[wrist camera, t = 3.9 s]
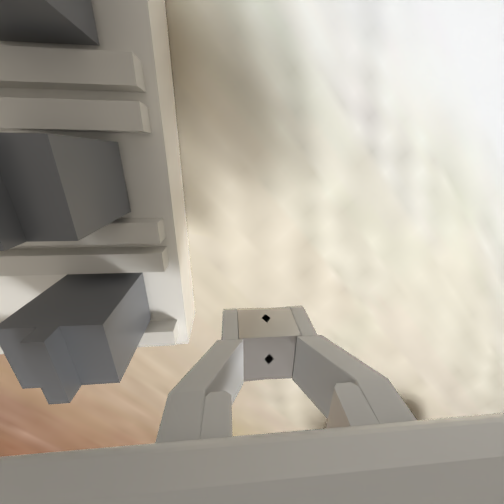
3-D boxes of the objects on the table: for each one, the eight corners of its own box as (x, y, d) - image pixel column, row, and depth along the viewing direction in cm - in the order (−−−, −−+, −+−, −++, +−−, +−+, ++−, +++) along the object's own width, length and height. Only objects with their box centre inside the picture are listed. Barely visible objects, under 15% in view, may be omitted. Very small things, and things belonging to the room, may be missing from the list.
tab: (142, 272, 10) (91, 339, 6) (151, 318, 11) (111, 400, 7) (67, 274, 10) (-31, 345, 6) (83, 321, 10) (5, 407, 7)
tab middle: (117, 141, 8) (23, 130, 4) (131, 211, 9) (62, 249, 5) (23, 140, 8) (-161, 126, 4) (47, 212, 9) (-86, 252, 5)
